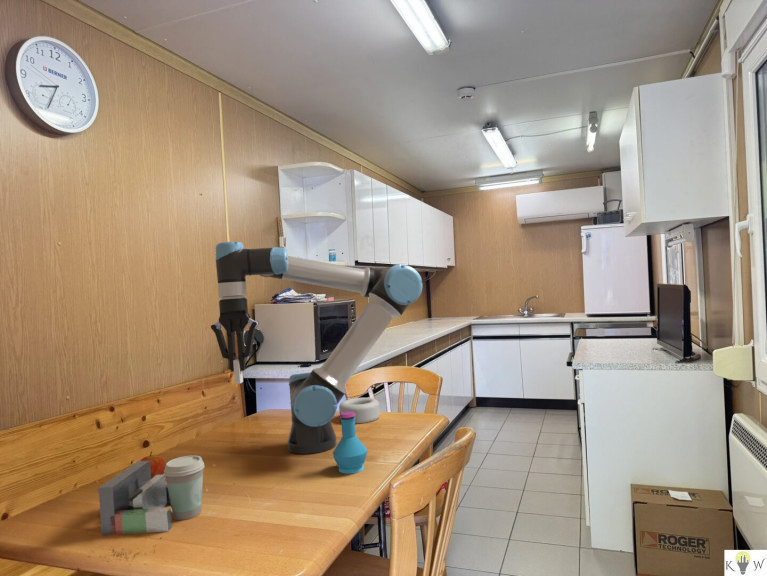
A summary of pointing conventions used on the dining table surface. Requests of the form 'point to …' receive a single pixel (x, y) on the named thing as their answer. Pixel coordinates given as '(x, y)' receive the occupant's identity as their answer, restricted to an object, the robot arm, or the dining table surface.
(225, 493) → the dining table surface
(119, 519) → the gauge base
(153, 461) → the fruit
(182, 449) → the dining table surface
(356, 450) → the perfume bottle
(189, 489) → the coffee cup
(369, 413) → the donut shape
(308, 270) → the robot arm
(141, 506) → the grey rectangular block
